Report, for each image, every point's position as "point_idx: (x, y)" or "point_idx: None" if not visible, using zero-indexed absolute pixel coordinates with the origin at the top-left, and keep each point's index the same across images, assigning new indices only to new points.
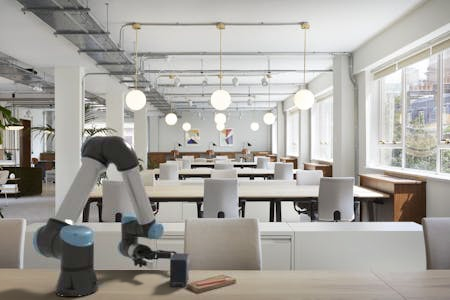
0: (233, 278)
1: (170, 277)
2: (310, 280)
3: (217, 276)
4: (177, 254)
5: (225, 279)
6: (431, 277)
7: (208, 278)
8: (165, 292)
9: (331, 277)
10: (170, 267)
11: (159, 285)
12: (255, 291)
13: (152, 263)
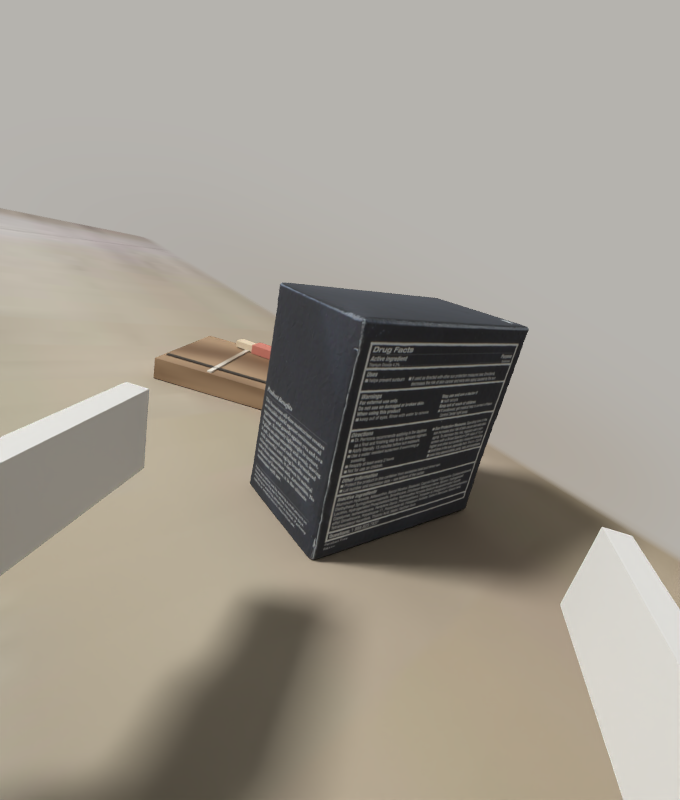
0: (207, 339)
1: (482, 451)
2: (99, 273)
3: (204, 367)
4: (386, 306)
5: (263, 344)
6: (26, 216)
7: (260, 385)
8: (534, 495)
9: (53, 255)
10: (506, 385)
11: (511, 572)
12: (271, 331)
13: (590, 549)
